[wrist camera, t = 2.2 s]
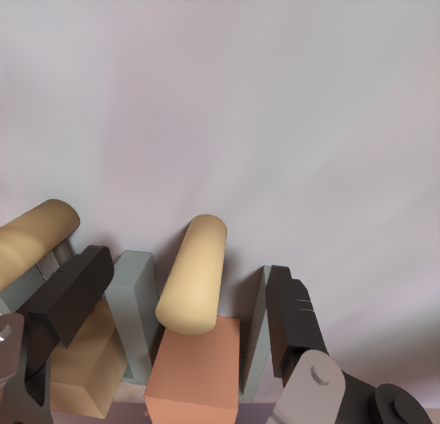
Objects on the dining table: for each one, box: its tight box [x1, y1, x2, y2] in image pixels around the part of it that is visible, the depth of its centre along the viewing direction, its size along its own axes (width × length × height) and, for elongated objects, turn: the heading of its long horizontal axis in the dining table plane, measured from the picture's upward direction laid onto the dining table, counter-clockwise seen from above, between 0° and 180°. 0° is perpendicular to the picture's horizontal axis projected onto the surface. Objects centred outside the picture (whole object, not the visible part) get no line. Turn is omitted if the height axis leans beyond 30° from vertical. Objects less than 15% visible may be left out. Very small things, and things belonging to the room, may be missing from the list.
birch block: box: [0, 199, 128, 419], centre depth 15 cm, size 6×16×6 cm, turn 177°
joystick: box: [144, 214, 240, 424], centre depth 15 cm, size 6×16×6 cm, turn 177°
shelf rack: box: [0, 250, 271, 402], centre depth 18 cm, size 20×14×3 cm
